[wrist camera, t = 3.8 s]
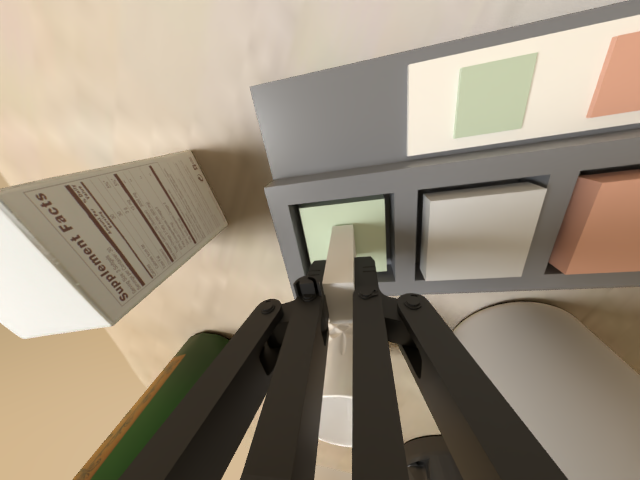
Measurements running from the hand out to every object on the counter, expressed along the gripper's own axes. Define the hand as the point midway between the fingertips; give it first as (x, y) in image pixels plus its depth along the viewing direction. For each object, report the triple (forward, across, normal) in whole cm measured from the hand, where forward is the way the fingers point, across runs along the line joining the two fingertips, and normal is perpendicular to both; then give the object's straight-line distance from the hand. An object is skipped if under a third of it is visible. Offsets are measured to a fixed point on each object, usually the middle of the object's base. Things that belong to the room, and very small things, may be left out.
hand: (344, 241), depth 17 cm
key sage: (+2, 0, 0) cm, 2 cm away
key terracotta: (0, -17, 0) cm, 17 cm away
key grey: (0, -9, 0) cm, 9 cm away
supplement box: (+4, +15, -4) cm, 16 cm away
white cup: (+4, +1, +13) cm, 14 cm away
